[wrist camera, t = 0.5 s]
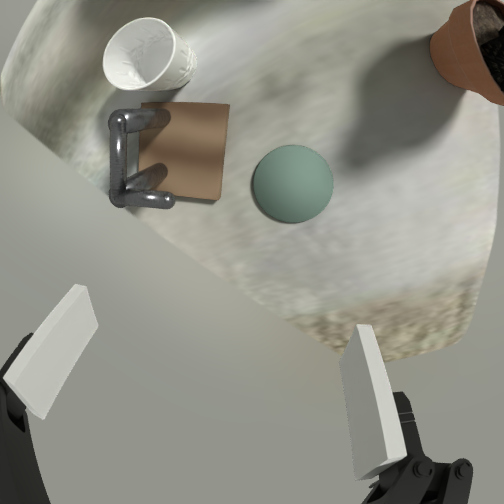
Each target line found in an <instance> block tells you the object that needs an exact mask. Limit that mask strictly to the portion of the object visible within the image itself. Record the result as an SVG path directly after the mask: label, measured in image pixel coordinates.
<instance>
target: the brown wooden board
mask: <svg viewBox="0 0 504 504" xmlns="http://www.w3.org/2000/svg"><path fill="white" fill-rule="evenodd" d="M146 108H164V109H167V110H168V111H169V112H170V114H171V120H170V122H169V124H168V125H166V126H165V127H159V128H154V129H148V130H143V131H140V136H139V171H141V170H143V169H145V168H147V167H149V166H151V165H153V164H156V163H163V164H164V165H165V166H166V167H167V169H168V175H167V177H166V178H165V179H164V180H163V181H161V182H160V183H158V184H157V185H155V186H154V187H152V188H151V189H149V190H157V191H168V192H171V193H173V194H174V195H175V196H184V197H194V198H203V199H212V200H219V199H220V197H221V187H222V176H223V165H224V155H225V145H226V136H227V126H228V117H229V108H230V105H229V104H216V103H195V102H149V103H141V109H146Z"/></svg>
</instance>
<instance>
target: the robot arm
mask: <svg viewBox="0 0 504 504" xmlns="http://www.w3.org/2000/svg"><path fill="white" fill-rule="evenodd" d="M97 328H98V323H97V320H96V317H95V314H94V311H93V307H92V304H91V301H90V298H89V294H88V290H87V287H86V286H82V285H77V284H75V285H74V286H73V287H72V288H71V289H70V291H69V292H68V293H67V294H66V295H65V296H64V298H63V299H62V300H61V301H60V302H59V303H58V305H57V306H56V307H55V308H54V309H53V311H52V312H51V313H50V314H49V315H48V317H47V318H46V319H45V320H44V322H43V323H42V324H41V326H40V327H39V328H38V329H37V331H36V332H35V333H34V334H33V333H30V334H29V335H27V336H26V337H24V338H23V339H22V341H21V342H20V343H19V345H18V347H17V348H16V349H15V350H14V352H13V353H12V354H11V356H10V357H9V358H8V360H7V361H6V363H5V364H4V366H3V367H2V369H1V370H0V504H51V503H50V501H49V498H48V495H47V493H46V489H45V487H44V484H43V481H42V477H41V474H40V471H39V467H38V464H37V460H36V456H35V452H34V448H33V443H32V439H31V434H30V429H29V423H28V417H27V413H26V411H25V409H26V407H27V408H28V409H29V410H30V411H31V412H32V413H33V414H34V415H36V416H38V417H39V418H41V419H43V420H44V419H45V417H46V415H47V413H48V411H49V409H50V407H51V405H52V404H53V402H54V400H55V398H56V396H57V394H58V393H59V391H60V389H61V387H62V385H63V384H64V382H65V380H66V378H67V377H68V375H69V373H70V371H71V370H72V368H73V366H74V364H75V363H76V361H77V360H78V358H79V356H80V355H81V353H82V351H83V350H84V348H85V347H86V345H87V343H88V342H89V340H90V339H91V337H92V336H93V334H94V333H95V331H96V329H97ZM339 364H340V370H341V376H342V382H343V388H344V395H345V401H346V408H347V415H348V422H349V430H350V437H351V446H352V455H353V465H354V476H355V481H357V480H365V479H371V478H373V477H375V476H377V475H378V474H379V480H378V481H376V482H374V483H373V484H372V485H370V486H369V488H372V487H373V489H372V490H371V492H370V493H369V494H368V496H367V497H366V498H365V500H364V501H363V502H362V504H467V503H468V498H469V493H470V488H471V483H472V477H473V467H472V464H471V463H470V462H469V461H468V460H467V459H464V458H463V459H458V460H457V461H455V462H453V463H452V464H451V463H436V462H432V460H431V459H430V458H429V457H427V456H425V454H424V452H423V450H422V446H421V442H420V437H419V434H418V430H417V426H416V422H415V421H414V420H415V418H414V415H413V413H412V408H411V405H410V401H409V399H408V398H407V397H406V395H405V394H404V393H403V392H392V390H391V387H390V383H389V380H388V376H387V373H386V369H385V366H384V363H383V360H382V356H381V353H380V350H379V347H378V344H377V341H376V338H375V335H374V332H373V329H372V326H371V325H361V324H356V326H355V329H354V331H353V333H352V336H351V338H350V340H349V342H348V344H347V346H346V349H345V351H344V353H343V355H342V357H341V359H340V361H339Z"/></svg>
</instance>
